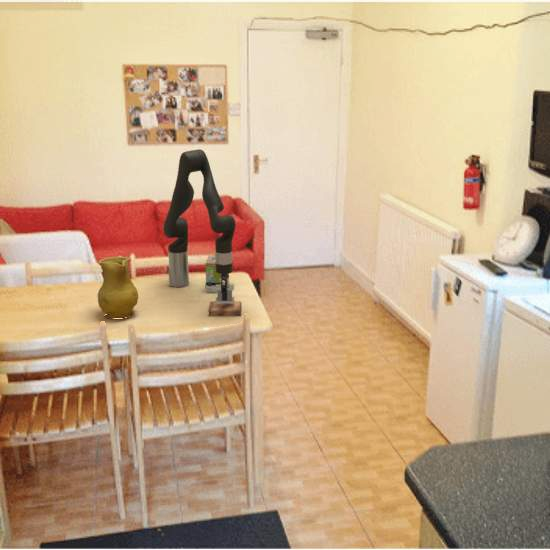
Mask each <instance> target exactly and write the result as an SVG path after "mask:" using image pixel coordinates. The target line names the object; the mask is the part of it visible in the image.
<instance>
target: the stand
mask: <svg viewBox="0 0 550 550" xmlns="http://www.w3.org/2000/svg"><path fill="white" fill-rule="evenodd" d="M241 316H242V301H240V300H234V303H216V300H215V301H214V300H213V301H212V300H211V301H209V307H208V317H241Z"/></svg>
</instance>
